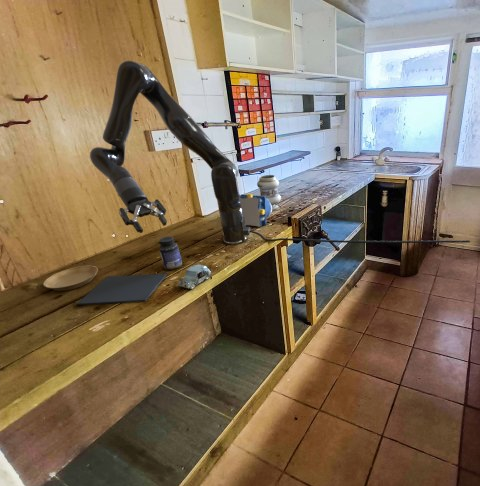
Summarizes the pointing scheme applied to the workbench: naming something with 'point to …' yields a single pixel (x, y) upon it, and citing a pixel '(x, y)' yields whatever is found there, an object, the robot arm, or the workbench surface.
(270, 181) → the apothecary jar
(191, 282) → the toy car
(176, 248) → the pill bottle
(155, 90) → the robot arm
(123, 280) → the mat
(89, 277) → the plant saucer
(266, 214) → the valve
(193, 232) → the workbench surface
